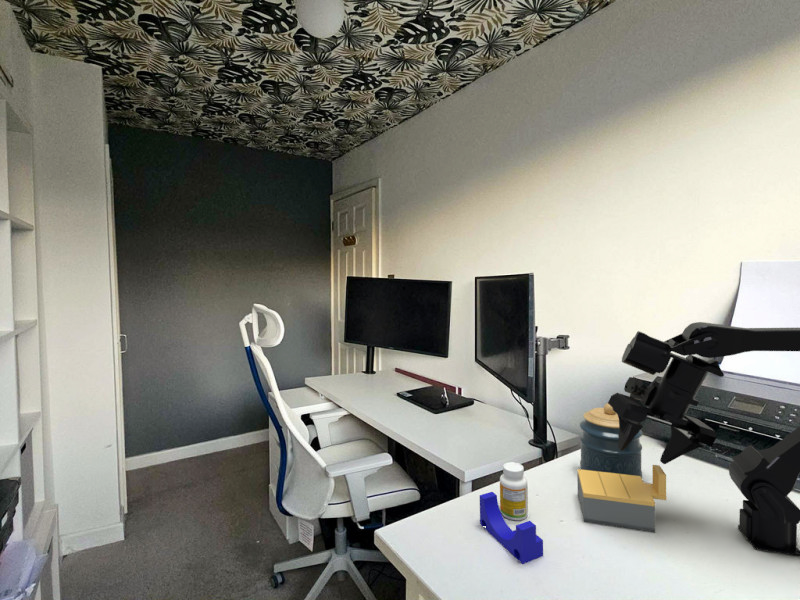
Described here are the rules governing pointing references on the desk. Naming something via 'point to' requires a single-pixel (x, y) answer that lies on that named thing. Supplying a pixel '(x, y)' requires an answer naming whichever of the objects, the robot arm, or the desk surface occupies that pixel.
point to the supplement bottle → (513, 492)
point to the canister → (607, 444)
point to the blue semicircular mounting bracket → (510, 531)
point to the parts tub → (617, 513)
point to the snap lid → (623, 486)
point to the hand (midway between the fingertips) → (641, 456)
